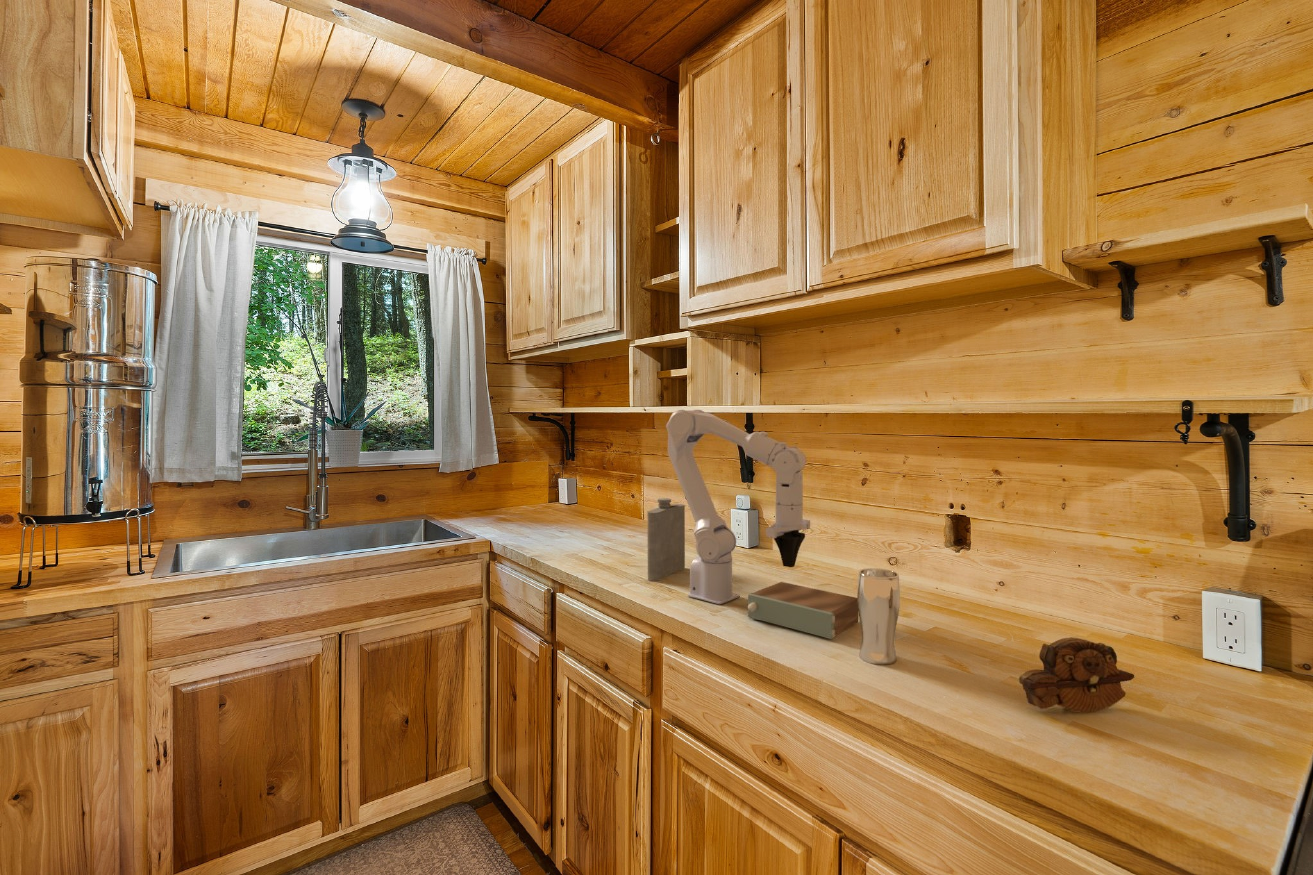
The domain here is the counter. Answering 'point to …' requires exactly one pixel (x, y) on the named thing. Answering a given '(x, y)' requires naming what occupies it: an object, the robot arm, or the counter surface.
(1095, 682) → the wooden carving
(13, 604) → the counter surface
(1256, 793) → the counter surface
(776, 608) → the cabinet door
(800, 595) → the cabinet
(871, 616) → the beer glass
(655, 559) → the hip flask
